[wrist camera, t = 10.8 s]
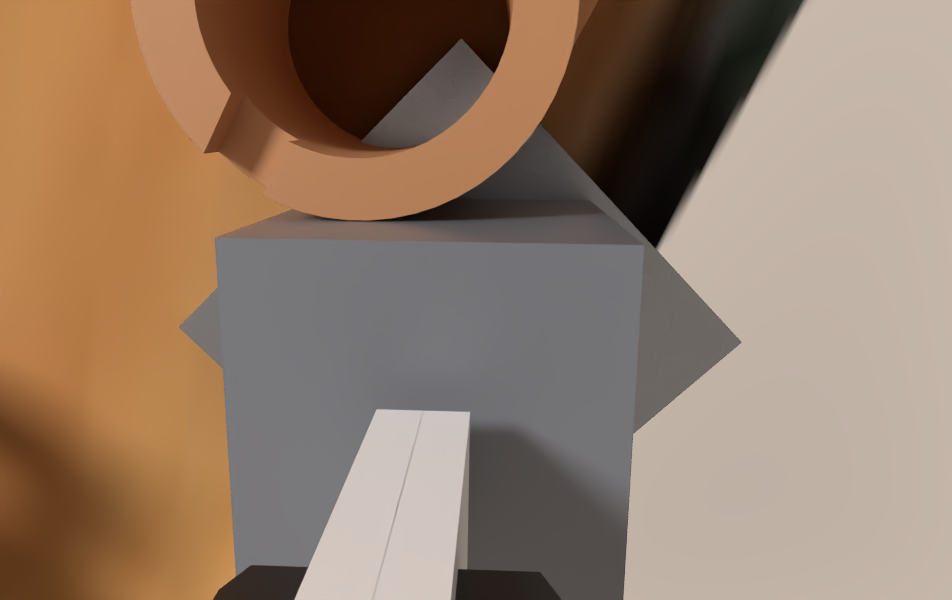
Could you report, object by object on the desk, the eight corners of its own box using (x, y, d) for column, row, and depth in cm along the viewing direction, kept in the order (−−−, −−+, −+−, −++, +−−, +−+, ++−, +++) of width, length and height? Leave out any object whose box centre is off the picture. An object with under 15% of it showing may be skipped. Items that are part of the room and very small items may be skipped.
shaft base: (463, 42, 20) (447, 10, 14) (730, 332, 22) (814, 409, 16) (193, 318, 22) (83, 388, 16) (456, 565, 24) (440, 710, 18)
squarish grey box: (326, 197, 20) (210, 239, 12) (590, 200, 20) (647, 246, 12) (334, 442, 22) (234, 622, 14) (579, 449, 22) (623, 636, 14)
